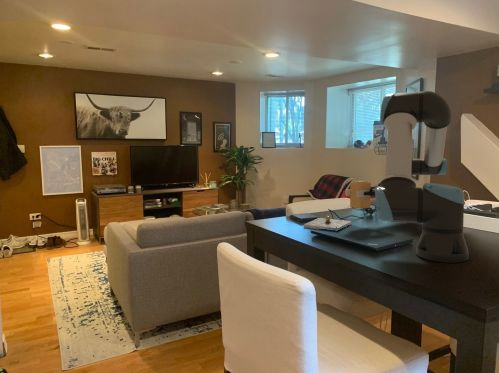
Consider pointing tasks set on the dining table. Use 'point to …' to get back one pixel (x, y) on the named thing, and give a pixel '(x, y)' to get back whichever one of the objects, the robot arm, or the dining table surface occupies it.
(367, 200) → the wooden block
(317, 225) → the plate
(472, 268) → the dining table surface
